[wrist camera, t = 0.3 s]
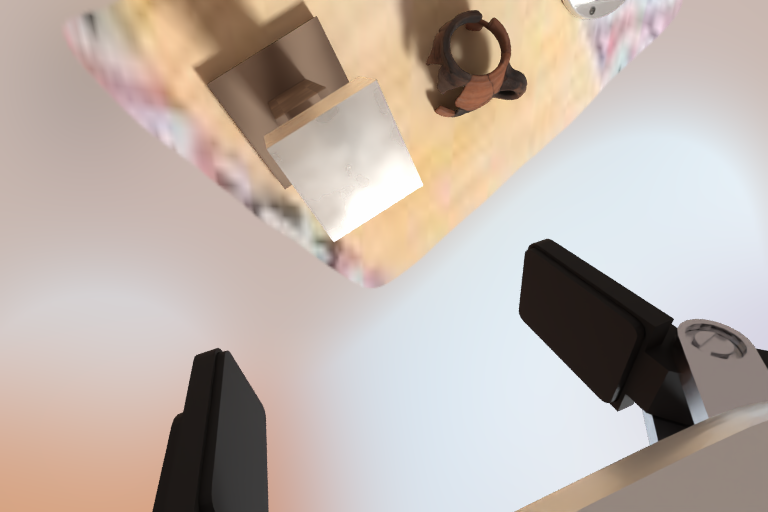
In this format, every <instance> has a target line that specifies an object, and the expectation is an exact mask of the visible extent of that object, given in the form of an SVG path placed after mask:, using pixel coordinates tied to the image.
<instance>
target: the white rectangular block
mask: <svg viewBox="0 0 768 512" xmlns="http://www.w3.org/2000/svg"><path fill="white" fill-rule="evenodd" d="M264 140H265V144H266V149H267V151H268V152H269V153H270V155H271V156H272V157H273V159H274V160H275V162H276V163H277V164H278V166H279V167H280V168H281V170H282V171H283V173H284V174H285V175H286V177H287V178H288V179H289V181H290V182H291V184H292V185H293V186H294V188H295V189H296V191H297V192H298V193H299V195H300V196H301V197H302V199H303V200H304V202H305V203H306V204H307V206H308V207H309V208H310V210H311V211H312V213H313V214H314V215H315V217H316V218H317V220H318V221H319V222H320V224H321V225H322V226H323V228H324V229H325V231H326V232H327V233H328V235H329V236H330V237H331V239H332V240H333V242H335V241H337V240H338V239H340V238H341V237H343V236H344V235H346V234H348V233H349V232H351V231H352V230H354V229H355V228H357V227H358V226H360V225H362V224H363V223H365V222H366V221H368V220H369V219H371V218H373V217H374V216H376V215H377V214H379V213H380V212H382V211H383V210H385V209H387V208H388V207H390V206H391V205H393V204H394V203H396V202H398V201H399V200H401V199H402V198H404V197H405V196H407V195H408V194H410V193H412V192H413V191H415V190H416V189H418V188H419V187H421V186H423V183H422V181H421V179H420V177H419V174H418V172H417V170H416V168H415V165H414V163H413V161H412V159H411V156H410V154H409V152H408V150H407V147H406V145H405V143H404V140H403V138H402V136H401V134H400V131H399V129H398V127H397V125H396V122H395V120H394V118H393V116H392V113H391V111H390V109H389V106H388V104H387V102H386V100H385V97H384V95H383V93H382V91H381V88H380V86H379V84H378V82H377V80H375V79H370V78H365V77H360V76H359V77H357V78H355V79H354V80H352V81H351V82H349V83H348V84H346V85H344V86H343V87H341V88H340V89H338V90H336V91H335V92H333V93H332V94H330V95H328V96H327V97H325V98H324V99H322V100H320V101H319V102H317V103H316V104H314V105H313V106H311V107H309V108H308V109H306V110H305V111H303V112H301V113H300V114H298V115H297V116H295V117H293V118H292V119H290V120H289V121H287V122H285V123H284V124H282V125H281V126H279V127H278V128H276V129H274V130H273V131H271V132H270V133H268V134H266V135H265V136H264Z"/></svg>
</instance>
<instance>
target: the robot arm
mask: <svg viewBox="0 0 768 512" xmlns="http://www.w3.org/2000/svg"><path fill="white" fill-rule="evenodd" d="M562 1H563V3H564V5H565V6H566V8H567V9H568V11H569V12H570V13H572V14H573V15H574V16H575V17H578V18H581V19H589V20H590V19H597V18H601V17H604V16H607V15H608V14H610V13H612V12H613V11H615V10H616V9H617V8H618V7H619V6H620V5H622V4H623V3H624V1H625V0H562ZM519 314H520V317H521V318H522V320H523V321H524V322H525V323H526V324H527V325H528V326H529V327H530V328H531V329H532V330H533V331H534V332H535V333H536V334H537V335H538V336H539V337H540V338H541V339H542V340H543V341H544V342H545V343H546V344H547V345H548V346H549V347H550V348H551V350H553V351H554V352H555V354H556V355H557V356H558V357H559V358H560V359H562V360H563V362H564V363H565V364H566V365H567V366H568V367H569V368H571V370H572V371H573V372H574V373H575V374H576V375H577V376H578V377H579V378H580V379H581V380H582V381H583V382H584V383H585V384H586V385H587V386H588V387H589V388H590V389H591V390H592V391H593V392H594V393H595V394H596V395H597V396H598V397H599V398H600V399H601V400H602V401H604V402H606V403H610V404H611V405H612V406H613V407H614V408H615V409H616V410H617V411H620V410H622V409H625V408H627V407H629V406H631V405H633V404H634V402H635V403H636V404H637V405H638V406H639V407H640V408H641V409H642V411H643V416H644V421H645V425H646V430H647V434H648V439H649V444H650V446H648V447H646V448H644V449H642V450H640V451H637V452H635V453H633V454H631V455H629V456H627V457H625V458H623V459H621V460H619V461H617V462H615V463H613V464H611V465H609V466H607V467H605V468H603V469H601V470H599V471H596V472H594V473H592V474H590V475H588V476H586V477H584V478H582V479H580V480H578V481H576V482H574V483H572V484H570V485H568V486H566V487H564V488H562V489H560V490H558V491H556V492H553V493H552V494H549V495H548V496H545V497H543V498H542V499H540V500H537V501H535V502H533V503H531V504H529V505H527V506H525V507H523V508H521V509H519V510H517V511H515V512H768V351H766V350H761V349H756V348H755V346H754V345H753V344H752V343H751V342H750V340H749V339H748V338H746V337H745V336H744V335H743V334H741V333H740V332H738V331H736V330H734V329H732V328H731V327H729V326H726V325H723V324H721V323H718V322H714V321H709V320H704V319H692V320H686V321H685V322H683V323H681V324H680V325H679V327H678V328H676V327H675V326H674V325H672V322H673V320H674V319H673V318H672V317H670V316H669V315H667V314H666V313H664V312H662V311H661V310H659V309H658V308H656V307H655V306H653V305H652V304H650V303H648V302H647V301H645V300H644V299H642V298H641V297H639V296H637V295H636V294H634V293H633V292H631V291H630V290H628V289H627V288H625V287H624V286H622V285H621V284H619V283H617V282H616V281H614V280H613V279H611V278H610V277H608V276H607V275H605V274H603V273H602V272H600V271H599V270H597V269H596V268H594V267H593V266H591V265H589V264H588V263H587V262H585V261H583V260H582V259H580V258H579V257H577V256H576V255H574V254H573V253H571V252H570V251H568V250H567V249H565V248H563V247H562V246H560V245H559V244H557V243H556V242H554V241H553V240H550V239H545V240H542V241H539V242H536V243H533V244H531V245H530V246H529V247H528V250H527V251H526V252H525V258H524V267H523V276H522V286H521V294H520V304H519ZM153 512H268V480H267V442H266V415H265V410H264V408H263V405H262V403H261V402H260V400H259V399H258V397H257V395H256V394H255V392H254V390H253V389H252V387H251V386H250V384H249V382H248V381H247V379H246V377H245V376H244V374H243V373H242V371H241V369H240V368H239V366H238V365H237V363H236V361H235V360H234V358H233V356H232V355H231V353H230V352H229V351H224V352H222V350H221V349H219V348H216V349H213V350H211V351H207V352H204V353H201V354H198V355H196V356H195V358H194V361H193V366H192V371H191V376H190V381H189V386H188V391H187V396H186V402H185V406H184V411H183V413H180V414H178V415H177V416H176V417H175V418H174V420H173V423H172V426H171V431H170V435H169V440H168V445H167V449H166V453H165V458H164V462H163V467H162V471H161V476H160V480H159V485H158V489H157V494H156V498H155V503H154V507H153Z"/></svg>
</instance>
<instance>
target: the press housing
mask: <svg viewBox="0 0 768 512" xmlns="http://www.w3.org/2000/svg"><path fill="white" fill-rule="evenodd" d="M348 83H349V81H348V79H347V77H346V75H345V73H344V71H343V69H342V67H341V64H340V62H339V60H338V58H337V56H336V54H335V52H334V50H333V48H332V46H331V44H330V42H329V40H328V38H327V36H326V34H325V32H324V30H323V28H322V26H321V24H320V22H319V20H318V18H317V16H316V17H314V18H312V19H311V20H309V21H308V22H306V23H304V24H303V25H301V26H300V27H298V28H296V29H295V30H293V31H292V32H290V33H288V34H287V35H285V36H284V37H282V38H280V39H279V40H277V41H275V42H274V43H272V44H271V45H269V46H267V47H266V48H264V49H263V50H261V51H259V52H258V53H256V54H255V55H253V56H251V57H250V58H248V59H247V60H245V61H243V62H242V63H240V64H239V65H237V66H235V67H234V68H232V69H231V70H229V71H227V72H226V73H224V74H222V75H221V76H219V77H218V78H216V79H214V80H213V81H211V82H210V83H208V84H207V86H208V87H209V88H210V90H211V91H212V92H213V94H214V95H215V96H216V98H217V99H218V100H219V102H220V103H221V104H222V106H223V107H224V108H225V110H226V111H227V112H228V114H229V115H230V117H231V118H232V119H233V121H234V122H235V123H236V125H237V126H238V127H239V129H240V130H241V131H242V133H243V134H244V135H245V137H246V138H247V139H248V141H249V142H250V143H251V145H252V146H253V147H254V149H255V150H256V151H257V153H258V154H259V155H260V157H261V158H262V159H263V161H264V162H265V163H266V165H267V166H268V167H269V169H270V170H271V171H272V173H273V174H274V175H275V177H276V178H277V179H278V181H279V182H280V183H281V185H282V186H283V187H284V189H286V188H288V187H289V186H291V185H292V184H291V182H290V181H289V179H288V178H287V177H286V175H285V174H284V173H283V171H282V170H281V168H280V167H279V166H278V164H277V163H276V162H275V160H274V159H273V157H272V156H271V155H270V153H269V152H268V151H267V149H266V144H265V140H264V136H265V135H266V134H268V133H270V132H271V131H273V130H274V129H276V128H278V127H279V126H281V125H282V124H284V123H285V122H287V121H289V120H290V119H292V118H293V117H295V116H297V115H298V114H300V113H301V112H303V111H305V110H306V109H308V108H309V107H311V106H313V105H314V104H316V103H317V102H319V101H320V100H322V99H324V98H325V97H327V96H328V95H330V94H332V93H333V92H335V91H336V90H338V89H340V88H341V87H343V86H344V85H346V84H348Z"/></svg>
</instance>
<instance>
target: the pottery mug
mask: <svg viewBox="0 0 768 512" xmlns="http://www.w3.org/2000/svg"><path fill="white" fill-rule="evenodd" d="M463 24H465V25H466V29H467V30H472V31H480V30H481V29H482V27H483V26H484V27H485V28H487V29H488V30H489V31H491V32H492V34H493V35H494V36H495V37H496V39H497V40H498V42H499V45H500V48H501V60H500V63H499V65H498V67H497V68H496V69H495V70H494V71H492V72H491V73H488V74H486V75H470V74H469V73H467V72H465V71H463V70H462V69H461V68H460V67H459V66H458V65H457V64H456V62H455V61H454V59H453V57H452V55H451V51H450V39H451V36H452V34H453V32H454V31H455V30H456V29H457V28H458V27H459V26H461V25H463ZM510 57H511V45H510V39H509V36H508V33H507V32H506V29H505V28H504V26H503V25H502V24H501V23H500V22H499V21H498V20H497V19H496V18H493V19H492V20H491V21H490V22H489V23H488V22H486V21H484V20H482V14H481V13H480V12H479V11H477V10H472V11H468V12H464V13H461V14H459V15H457V16H456V17H455V18H454V19H453V20H451V21H449V22H447V23H446V24H445V25H444V26H442V27H441V28H440V29H439V33H438V34H437V35H436V36H435V39H434V43H433V47H432V50H431V53H430V56H429V57H428V60H427V63H426V64H427V65H430V64H440V65H442V66H441V68H440V70H439V73H438V84H437V88H438V90H439V91H440V93H441V94H444V93H445V92H447V91H448V90H451V89H454V88H457V87H460V86H464V88H463V90H462V92H461V94H460V95H459V96H458V97H457V99H456V101H455V105H456V106H457V107H459V108H458V110H451V109H448V108H446V107H444V106H441V105H440V106H439V107H438V108H437V109H436V110H435V112H436V113H437V114H439V115H441V116H445V117H457V116H461V115H463V114H465V113H469V112H471V111H473V110H476V109H478V108H480V107H481V106H483V105H485V104H486V103H488V102H489V101H490V100H491V99H492V98H499V99H504V100H514V99H518V98H519V97H521V96H522V95H523V93H524V92H525V91H526V86H527V80H526V77H525V76H524V74H522V73H521V72H519V71H517V70H515V69H513V68H512V67H511V65H510V63H509V60H510Z"/></svg>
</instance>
